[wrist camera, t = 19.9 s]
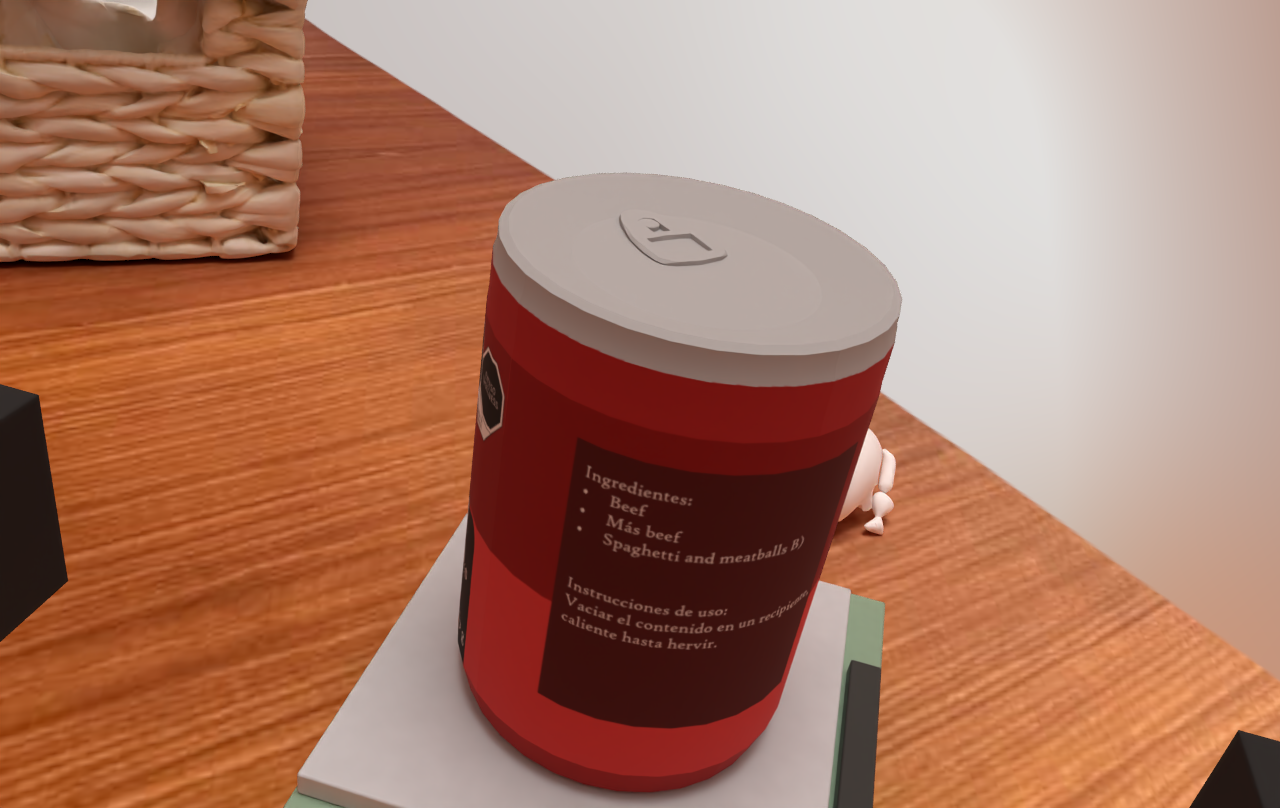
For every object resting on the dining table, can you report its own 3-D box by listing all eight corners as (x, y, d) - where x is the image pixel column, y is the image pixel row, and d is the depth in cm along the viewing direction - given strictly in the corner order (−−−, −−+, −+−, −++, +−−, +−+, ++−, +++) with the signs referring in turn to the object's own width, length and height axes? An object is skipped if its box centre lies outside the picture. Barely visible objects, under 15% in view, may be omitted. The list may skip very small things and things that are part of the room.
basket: (325, 276, 47) (327, -88, 40) (-118, 288, 41) (-217, -144, 33) (265, 100, 65) (259, -174, 58) (-48, 89, 59) (-102, -220, 51)
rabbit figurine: (900, 581, 36) (707, 466, 33) (825, 593, 39) (644, 490, 36) (938, 427, 38) (762, 310, 36) (865, 450, 41) (698, 345, 39)
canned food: (601, 523, 31) (666, 148, 25) (838, 683, 27) (980, 282, 21) (381, 649, 25) (402, 209, 20) (637, 873, 21) (756, 404, 16)
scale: (863, 663, 32) (891, 586, 30) (830, 1069, 22) (870, 985, 20) (479, 553, 33) (487, 475, 32) (279, 888, 23) (276, 795, 22)
